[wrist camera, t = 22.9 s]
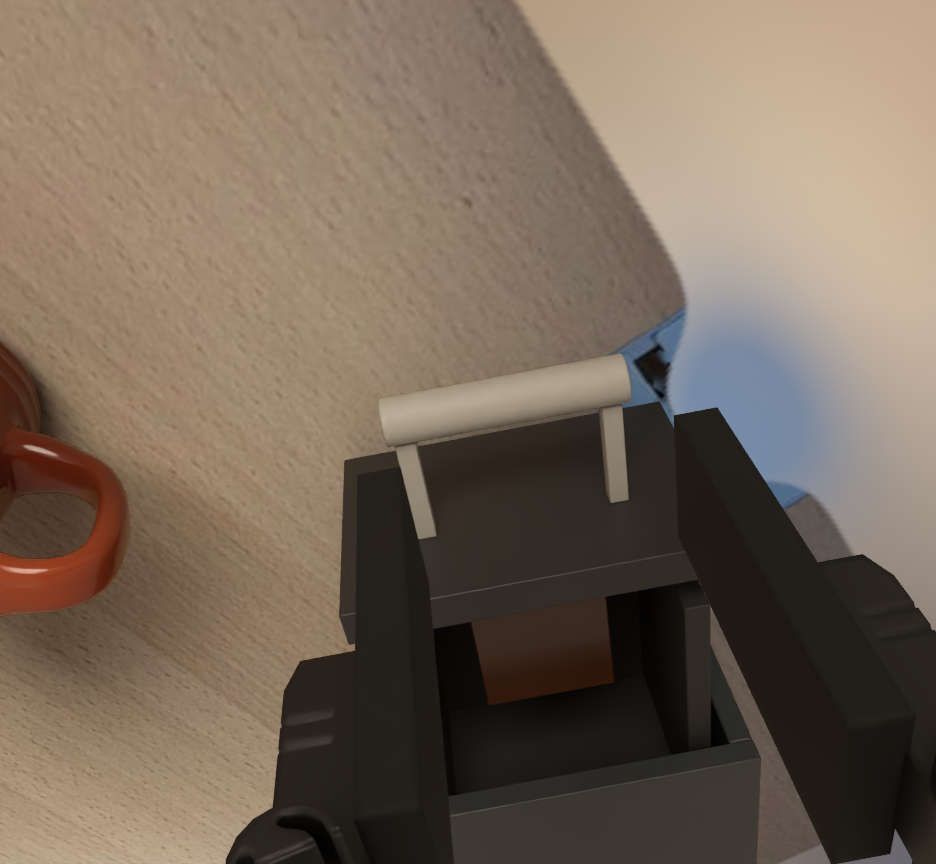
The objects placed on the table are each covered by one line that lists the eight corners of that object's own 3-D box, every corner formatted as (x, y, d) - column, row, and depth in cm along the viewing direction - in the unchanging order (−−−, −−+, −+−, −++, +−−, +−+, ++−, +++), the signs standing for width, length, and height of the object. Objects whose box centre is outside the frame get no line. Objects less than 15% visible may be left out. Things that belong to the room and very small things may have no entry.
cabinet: (379, 619, 37) (383, 829, 29) (675, 564, 37) (761, 758, 29) (439, 821, 45) (456, 1030, 37) (683, 776, 45) (752, 975, 37)
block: (456, 527, 32) (468, 615, 28) (577, 504, 32) (605, 589, 28) (474, 614, 35) (488, 706, 31) (587, 593, 35) (615, 682, 31)
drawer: (309, 338, 29) (292, 478, 22) (653, 273, 29) (739, 394, 22) (415, 707, 39) (425, 878, 32) (670, 659, 39) (733, 820, 32)
